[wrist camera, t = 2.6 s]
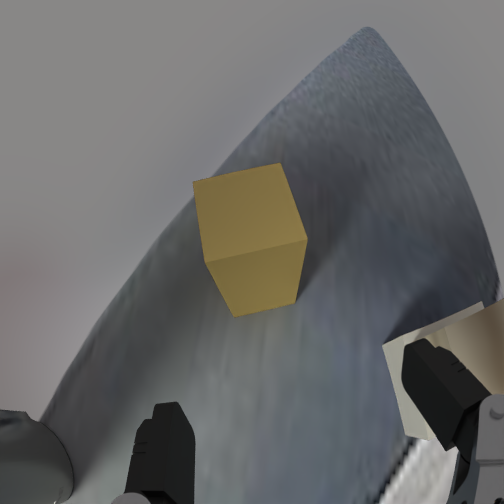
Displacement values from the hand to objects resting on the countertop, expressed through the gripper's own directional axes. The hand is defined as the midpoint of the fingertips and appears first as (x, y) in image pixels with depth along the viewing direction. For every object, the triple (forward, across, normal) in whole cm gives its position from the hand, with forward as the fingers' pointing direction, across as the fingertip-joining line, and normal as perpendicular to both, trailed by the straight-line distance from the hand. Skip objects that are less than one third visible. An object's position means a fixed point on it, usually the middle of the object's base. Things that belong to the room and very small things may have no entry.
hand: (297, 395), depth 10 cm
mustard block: (+16, 0, +3) cm, 16 cm away
